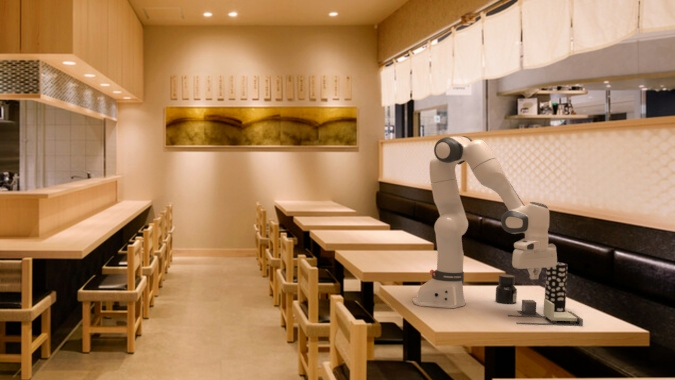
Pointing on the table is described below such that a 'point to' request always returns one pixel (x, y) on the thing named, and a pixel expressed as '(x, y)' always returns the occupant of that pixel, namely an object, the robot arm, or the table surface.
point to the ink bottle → (506, 290)
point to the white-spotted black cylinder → (556, 286)
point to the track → (578, 323)
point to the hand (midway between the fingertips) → (533, 279)
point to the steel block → (529, 307)
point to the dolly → (557, 314)
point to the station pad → (528, 315)
